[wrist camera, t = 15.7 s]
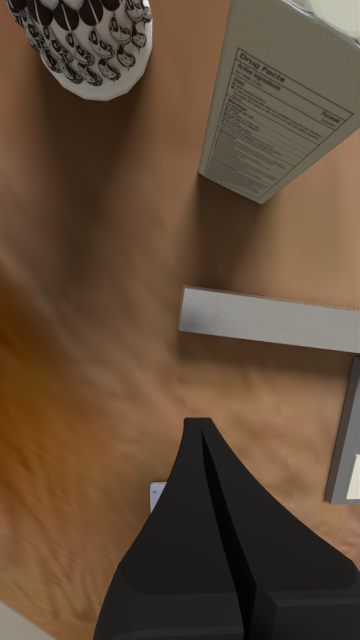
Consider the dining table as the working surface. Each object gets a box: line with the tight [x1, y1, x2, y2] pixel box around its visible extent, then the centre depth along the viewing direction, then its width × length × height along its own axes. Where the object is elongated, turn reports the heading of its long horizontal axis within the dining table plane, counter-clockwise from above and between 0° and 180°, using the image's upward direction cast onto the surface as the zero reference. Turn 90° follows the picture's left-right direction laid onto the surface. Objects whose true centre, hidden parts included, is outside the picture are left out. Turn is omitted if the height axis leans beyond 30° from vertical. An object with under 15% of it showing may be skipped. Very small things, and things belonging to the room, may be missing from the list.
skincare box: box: [198, 0, 360, 204], centre depth 11 cm, size 6×4×12 cm
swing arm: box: [178, 285, 360, 353], centre depth 17 cm, size 20×3×3 cm, turn 82°
